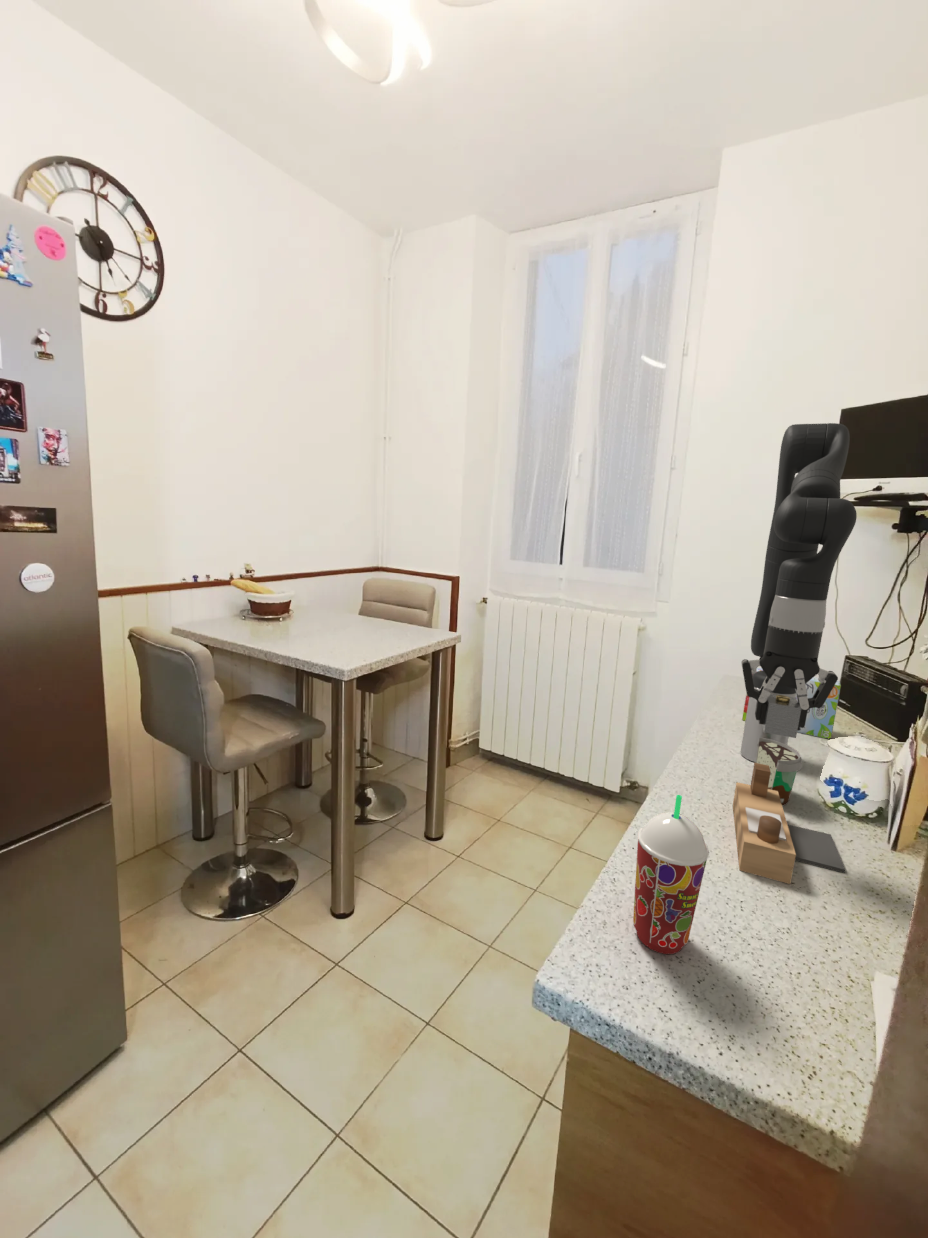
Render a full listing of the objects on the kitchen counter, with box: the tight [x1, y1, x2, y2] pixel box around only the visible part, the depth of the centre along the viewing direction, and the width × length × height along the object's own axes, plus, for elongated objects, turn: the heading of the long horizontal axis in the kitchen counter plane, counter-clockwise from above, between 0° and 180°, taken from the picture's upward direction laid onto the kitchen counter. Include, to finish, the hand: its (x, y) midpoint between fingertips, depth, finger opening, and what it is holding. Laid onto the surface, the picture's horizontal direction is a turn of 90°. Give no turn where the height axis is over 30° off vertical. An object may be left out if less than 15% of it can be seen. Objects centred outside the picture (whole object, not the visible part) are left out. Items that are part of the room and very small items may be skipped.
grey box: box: [762, 694, 801, 739], centre depth 90 cm, size 6×4×6 cm
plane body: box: [732, 762, 796, 885], centre depth 93 cm, size 22×7×10 cm, turn 156°
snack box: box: [741, 667, 842, 740], centre depth 149 cm, size 21×6×15 cm, turn 58°
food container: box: [755, 738, 803, 807], centre depth 109 cm, size 12×6×10 cm, turn 168°
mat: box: [787, 823, 846, 874], centre depth 92 cm, size 11×7×1 cm, turn 156°
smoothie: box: [632, 794, 710, 955], centre depth 69 cm, size 8×8×20 cm
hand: (778, 725), depth 90 cm, fingers closed on grey box, 4 cm apart
